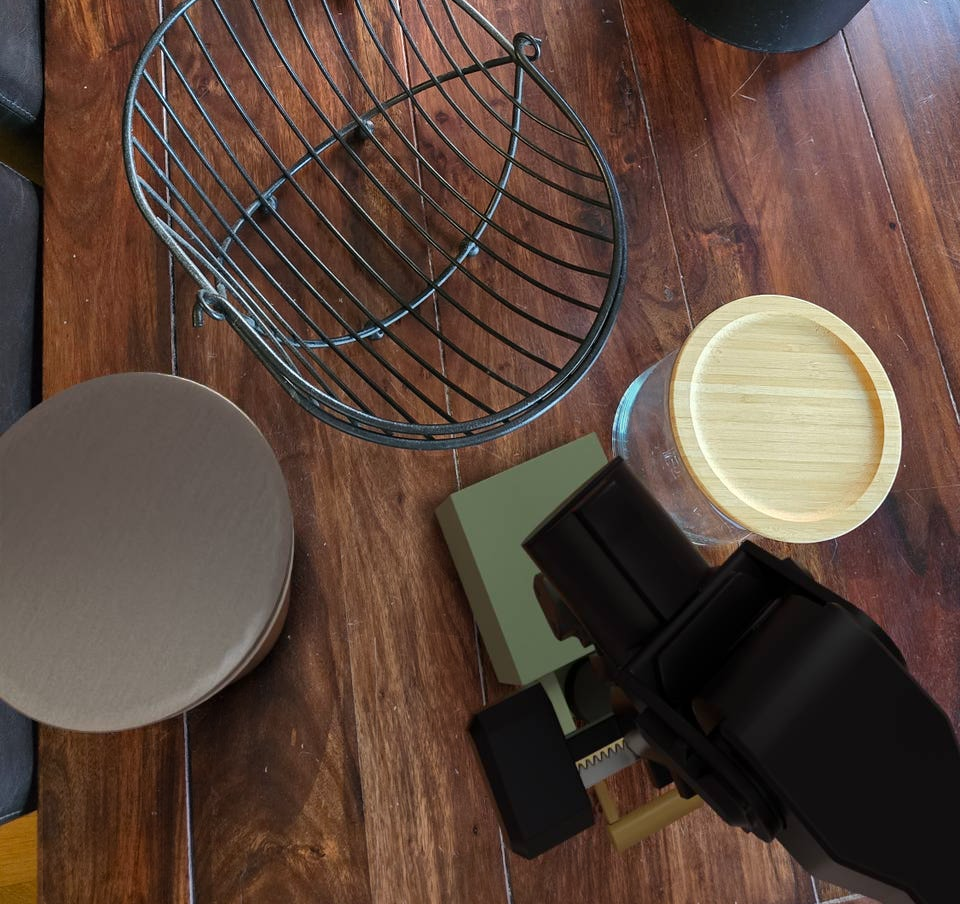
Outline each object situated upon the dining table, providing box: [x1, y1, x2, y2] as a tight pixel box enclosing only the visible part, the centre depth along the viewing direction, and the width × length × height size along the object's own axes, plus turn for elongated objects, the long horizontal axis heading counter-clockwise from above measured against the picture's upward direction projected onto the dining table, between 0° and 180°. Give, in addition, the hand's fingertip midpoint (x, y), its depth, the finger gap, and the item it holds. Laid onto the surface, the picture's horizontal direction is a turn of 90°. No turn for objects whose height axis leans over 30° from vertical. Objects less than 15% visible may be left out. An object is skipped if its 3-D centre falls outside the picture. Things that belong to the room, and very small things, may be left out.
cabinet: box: [434, 431, 609, 687], centre depth 69 cm, size 11×10×8 cm
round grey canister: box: [0, 371, 295, 734], centre depth 52 cm, size 10×10×40 cm
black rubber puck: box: [564, 656, 612, 724], centre depth 67 cm, size 4×4×2 cm
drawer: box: [525, 650, 705, 854], centre depth 66 cm, size 13×8×6 cm, turn 23°
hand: (619, 692), depth 63 cm, fingers open, 9 cm apart
